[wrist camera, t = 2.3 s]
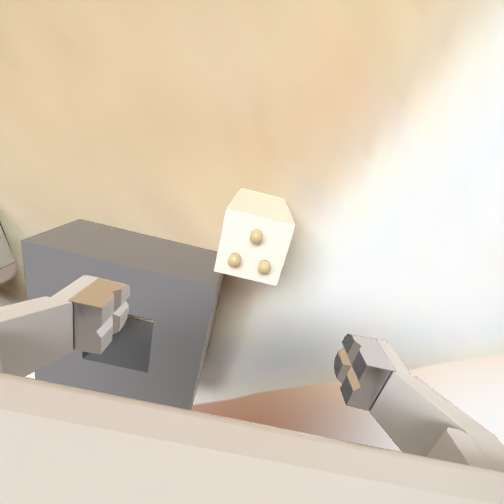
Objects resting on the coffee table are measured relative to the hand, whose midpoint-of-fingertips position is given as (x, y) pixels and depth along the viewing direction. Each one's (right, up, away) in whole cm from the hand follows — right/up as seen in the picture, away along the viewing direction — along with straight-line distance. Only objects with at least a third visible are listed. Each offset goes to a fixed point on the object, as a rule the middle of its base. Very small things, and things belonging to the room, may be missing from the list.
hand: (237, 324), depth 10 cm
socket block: (-12, -3, +21) cm, 24 cm away
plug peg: (+1, +6, +16) cm, 18 cm away
